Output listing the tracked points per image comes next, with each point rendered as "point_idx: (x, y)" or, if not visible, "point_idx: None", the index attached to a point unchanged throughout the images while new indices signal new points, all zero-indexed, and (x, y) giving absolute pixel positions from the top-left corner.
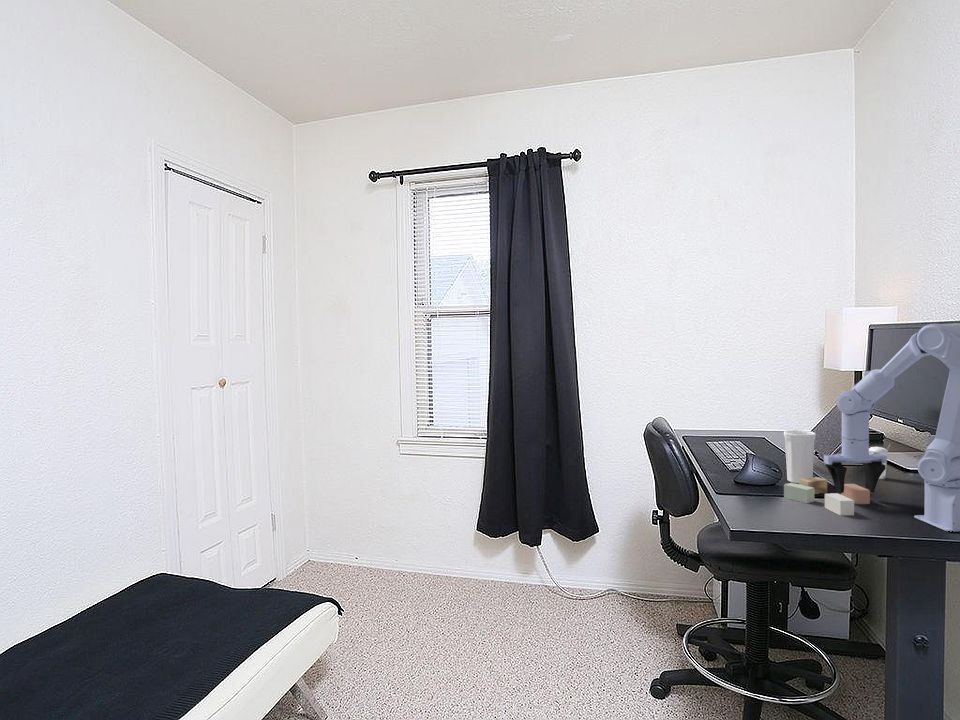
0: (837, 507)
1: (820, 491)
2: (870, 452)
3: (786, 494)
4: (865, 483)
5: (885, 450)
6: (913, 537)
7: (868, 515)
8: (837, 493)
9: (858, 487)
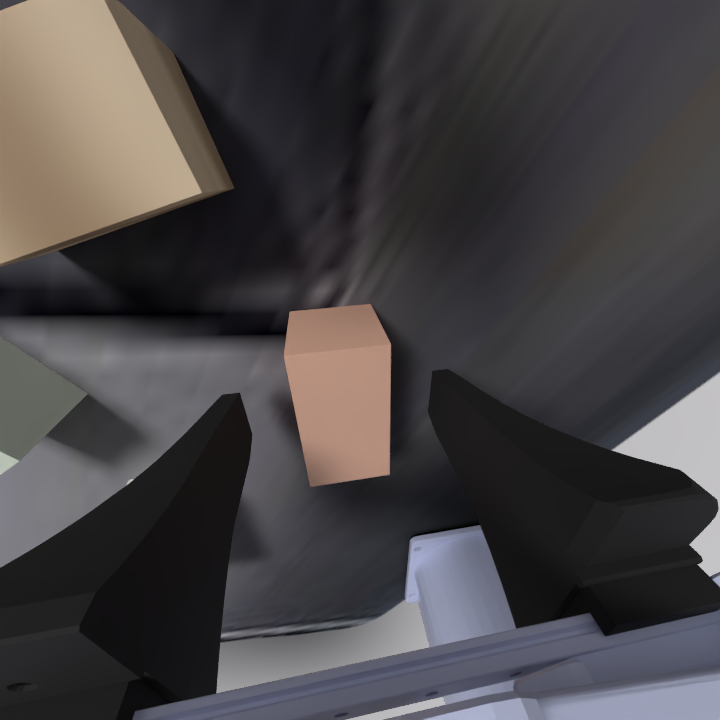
0: None
1: (163, 212)
2: None
3: None
4: (452, 385)
5: None
6: (305, 625)
7: (280, 532)
8: None
9: (359, 433)
